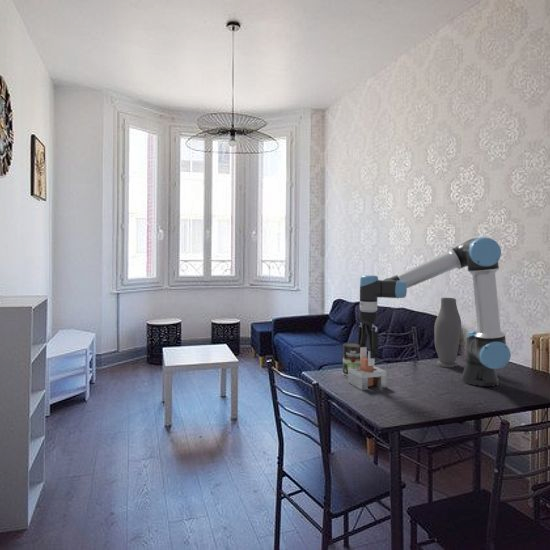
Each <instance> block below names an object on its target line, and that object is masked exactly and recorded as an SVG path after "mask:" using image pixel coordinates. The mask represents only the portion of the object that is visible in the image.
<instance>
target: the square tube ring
mask: <svg viewBox="0 0 550 550" xmlns="http://www.w3.org/2000/svg"><path fill="white" fill-rule="evenodd" d="M360 368H361V366H349V367H348V376H347V383H349V384H351V385H352V386H354V387H356V388H358V389H359V390H361V391H366V390H368V388H369V386H368V378H370V377H373V386H376V387H378V388H380V389H383V388H385V389H386V388H387V375H388V372H387V370H384V369H382V368H381V367H378V366H375V365H374V366H373V371H363V370H361V369H360Z"/></svg>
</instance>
